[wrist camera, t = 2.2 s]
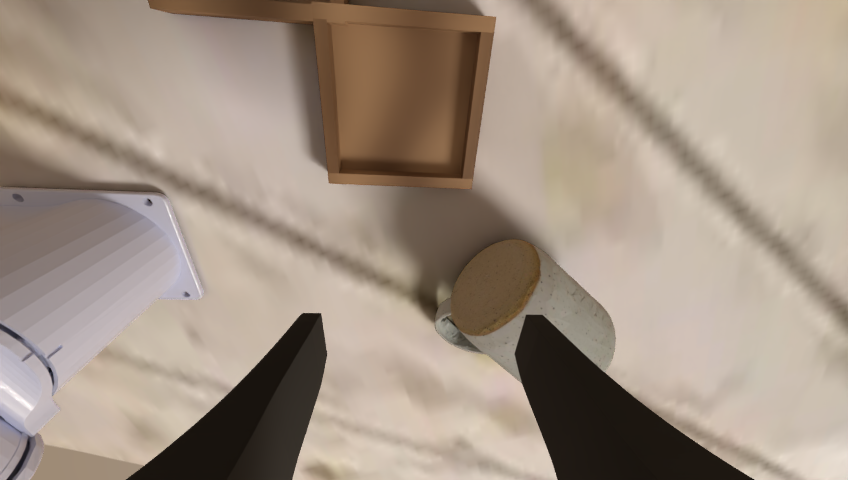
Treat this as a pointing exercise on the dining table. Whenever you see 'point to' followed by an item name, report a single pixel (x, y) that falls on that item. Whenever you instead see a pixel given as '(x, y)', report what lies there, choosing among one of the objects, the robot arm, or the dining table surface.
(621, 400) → the robot arm
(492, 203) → the dining table surface
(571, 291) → the ceramic mug
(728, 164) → the dining table surface
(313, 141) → the dining table surface
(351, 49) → the tray
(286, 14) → the tray
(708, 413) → the dining table surface
